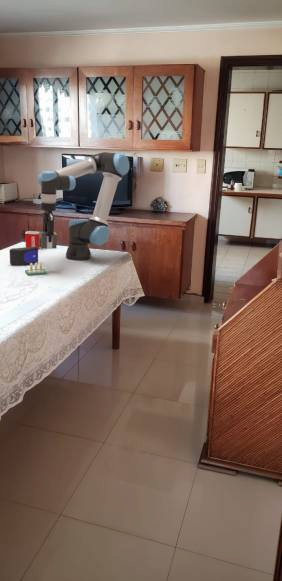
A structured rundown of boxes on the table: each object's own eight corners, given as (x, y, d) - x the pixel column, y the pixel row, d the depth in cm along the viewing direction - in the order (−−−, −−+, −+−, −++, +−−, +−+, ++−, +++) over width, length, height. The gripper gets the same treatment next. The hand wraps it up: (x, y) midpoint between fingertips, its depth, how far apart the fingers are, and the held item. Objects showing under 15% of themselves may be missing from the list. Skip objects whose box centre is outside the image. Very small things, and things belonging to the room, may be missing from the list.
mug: (24, 250, 283) (24, 233, 279) (27, 247, 290) (27, 231, 287) (44, 251, 283) (43, 234, 280) (46, 248, 291) (46, 231, 288)
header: (44, 270, 242) (43, 260, 240) (47, 274, 236) (47, 264, 234) (25, 272, 238) (24, 261, 236) (28, 275, 232) (27, 265, 230)
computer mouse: (12, 267, 246) (11, 250, 243) (9, 264, 249) (8, 248, 246) (40, 264, 254) (40, 247, 251) (37, 262, 258) (37, 246, 255)
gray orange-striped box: (53, 246, 240) (54, 231, 238) (56, 248, 236) (56, 233, 234) (38, 246, 237) (39, 231, 234) (41, 248, 233) (41, 233, 230)
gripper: (36, 199, 236) (36, 243, 242) (45, 204, 220) (45, 250, 227) (51, 200, 239) (50, 243, 246) (60, 204, 224) (59, 250, 230)
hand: (48, 246), depth 236 cm, fingers closed on gray orange-striped box, 5 cm apart
